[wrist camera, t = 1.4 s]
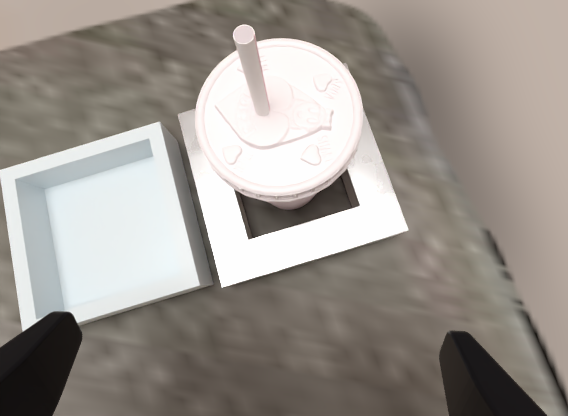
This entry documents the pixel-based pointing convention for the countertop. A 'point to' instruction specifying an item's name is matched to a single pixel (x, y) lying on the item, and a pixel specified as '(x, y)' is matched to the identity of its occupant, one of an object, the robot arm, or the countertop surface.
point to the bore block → (302, 238)
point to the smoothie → (279, 119)
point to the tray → (103, 227)
